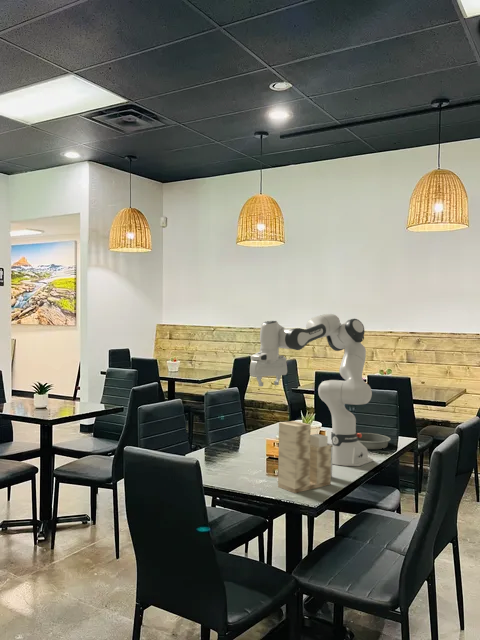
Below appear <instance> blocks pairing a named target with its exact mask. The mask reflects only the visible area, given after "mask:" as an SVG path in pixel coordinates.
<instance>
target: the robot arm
mask: <svg viewBox="0 0 480 640" xmlns="http://www.w3.org/2000/svg"><path fill="white" fill-rule="evenodd" d="M364 335H365V326H364V324H363V323H362V321H360V320H359V319H357V318H350V319H348V320H347V321H346V322H343V323H341V320H340V318H339V316H338V315H336V314H334V313H326V314H320V315H315V316H314V317H311V318H310V319H308V321H307V322H306V326H305V329H304V328H299V327H297V328H296V327H295V328H293V327H292V328H291V327H290V328H289V327H284V326H282V325H280V324H279V322H278V321H277V320H267V321H264V322H262V324H261V326H260V332H259V341H260V342H259V343H260V346H259V351H258V352H256V353H254V354H251V355H250V359H251V361H250V364H249V375H250V377H254V378H256V381H257V382H258V387H264V382H263V381H262V379H263V377H273V376H274V377H275V378H276V379H275V380H274V381H273V385H274V386H279V385H280V380H281V378H282V376H286V375H287V374H288V366H287V365H288V364H287V358H286V356H285V355H281V354H279V352H280V349H286V350H287V349H289V350H294V351H300V350H302V349H304V348H305V347H306V345H308V344H309V343H311V342H313V341H315V340H319V339H323V338H326V341H327V343H328V346H329V347H330V348H331V349H332V350H333V351H336V352H339V351H342V350H344V353H343V356H342V359H341V362H340V366H339V374H340V376H341V377H342V379H344V380H339V379H329V380H324V381H323V380H322V381H321V383H320V384H319V385H318V389H317V391H318V396H319V399H321V401H322V402H324V403H325V404H326V406H327V407H328V410H329V411H330V415H331V424H332V425H331V426H332V428H331V429H332V430H331V432H330V433H331V434H330V439H331V442H330V444H333V455H332V465H335V466H345V467H347V466H348V467H349V466H350V467H361V466H364V465H366V464H368V463H372V462H373V461H374V459H373V458H372V457H370V456H369V451H368V449H367V448H366V447H365V446H364V445H363V444H361V443H360V442H359V441H358V437H359V438H361V437H362V434H361V433H362V432H356V431H357V430H356V429H357V424H356V423H357V419H356V416H355V414H353V413H352V412H351V411H349V410H348V409H347V408H346V406H345V405H352V406H353V405H357V406H360V405H366V404H368V403H369V402H370V401H371V399H372V396H373V392H372V388H371V386H370V384H368V383H367V382H366V381H365V380H364V379H363V371H364V368H365V367H364V366H365V363H366V357H367V355H366V354H367V350H366V347H365V346H364V344H363V343H361V342H363V341H364V340H365V336H364ZM356 433H357V434H356Z"/></svg>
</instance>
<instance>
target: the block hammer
mask: <svg viewBox="0 0 480 640" xmlns="http://www.w3.org/2000/svg"><path fill="white" fill-rule="evenodd" d="M328 438H329V437H328V435H324V434H319V433H314V434H310V445H311V446H315V447H324V446H327V443H328Z"/></svg>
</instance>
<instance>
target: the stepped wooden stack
mask: <svg viewBox="0 0 480 640" xmlns="http://www.w3.org/2000/svg"><path fill="white" fill-rule="evenodd" d="M311 426H312V424H310V423H305V422H300V421H296V420H291V421H290V420H289V421H282V422H278V469H277V470H278V471H277V472H278V474H277V487H278V488H280V489H283V490H286V491H289V492H290V493H294V494H298V493H301V492H306V491H309V490H314V489H317V488H322V487H325V486H330V485H331V478H332V477H331V446H330V445H327V446H324V447H315V446H311V445H310V435H311Z"/></svg>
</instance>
